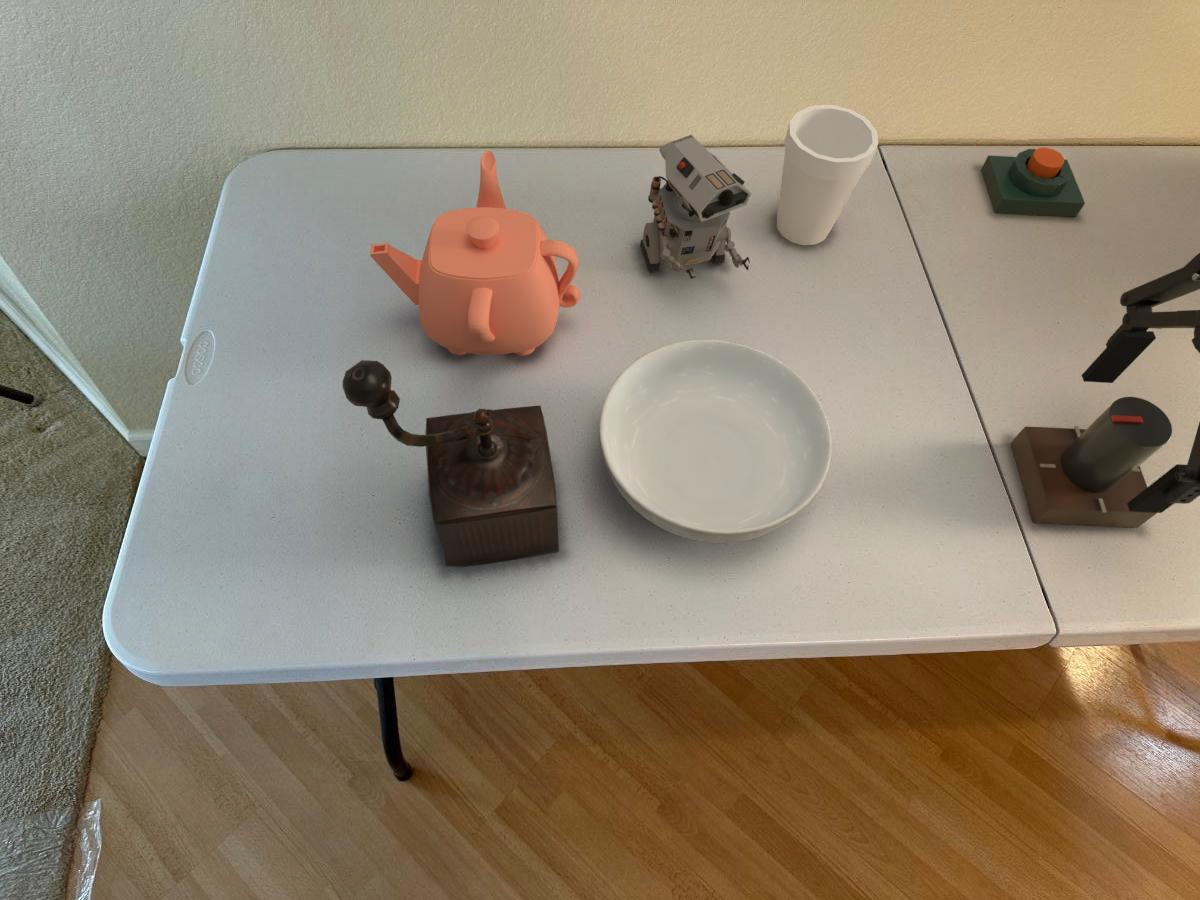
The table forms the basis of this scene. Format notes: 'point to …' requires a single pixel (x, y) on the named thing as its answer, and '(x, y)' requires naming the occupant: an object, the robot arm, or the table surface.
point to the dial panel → (1070, 484)
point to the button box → (1030, 188)
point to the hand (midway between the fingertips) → (1118, 440)
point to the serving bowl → (714, 440)
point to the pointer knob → (1116, 444)
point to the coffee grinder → (476, 473)
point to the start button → (1045, 162)
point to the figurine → (692, 209)
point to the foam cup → (821, 169)
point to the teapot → (485, 276)
